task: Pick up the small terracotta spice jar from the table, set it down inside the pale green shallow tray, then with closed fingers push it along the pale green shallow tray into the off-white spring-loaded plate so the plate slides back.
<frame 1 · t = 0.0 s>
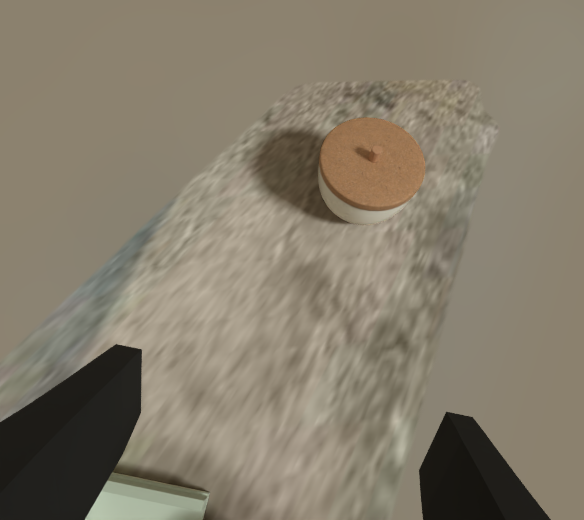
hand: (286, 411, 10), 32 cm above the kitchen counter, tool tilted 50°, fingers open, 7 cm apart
lidded jar: (356, 199, 50), on the kitchen counter
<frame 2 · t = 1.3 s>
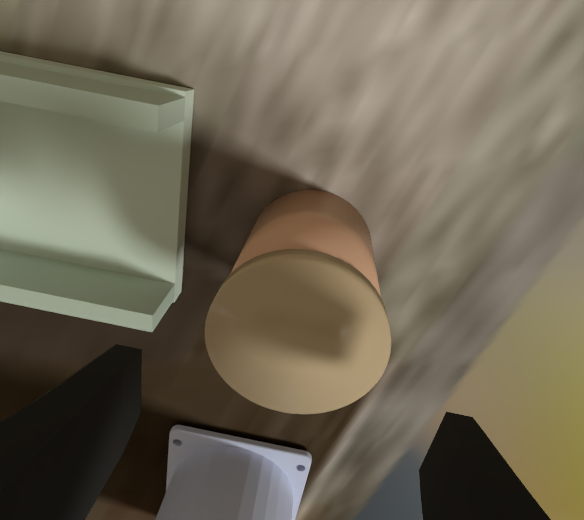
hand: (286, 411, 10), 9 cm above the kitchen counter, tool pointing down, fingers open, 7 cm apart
jar: (310, 248, 18), on the kitchen counter
pale green shallow tray: (2, 165, 18), on the kitchen counter
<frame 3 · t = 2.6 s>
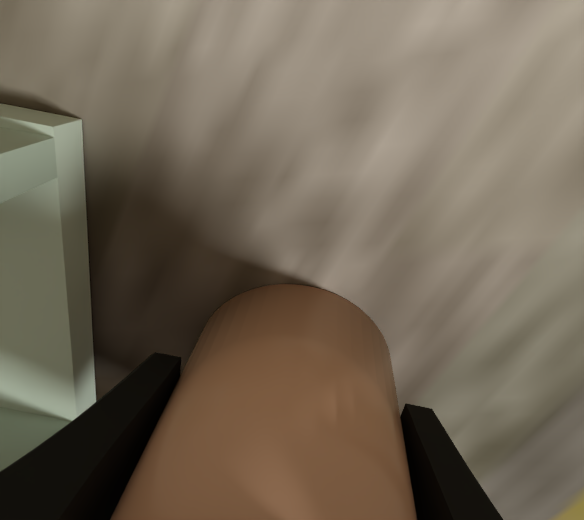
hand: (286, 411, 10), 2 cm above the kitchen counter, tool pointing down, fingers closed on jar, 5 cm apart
jar: (292, 368, 11), on the kitchen counter, touching gripper
when the fingers open (4 cm above the kitchen counter, at t = 5.4 s): jar stays where it is, resting on pale green shallow tray.
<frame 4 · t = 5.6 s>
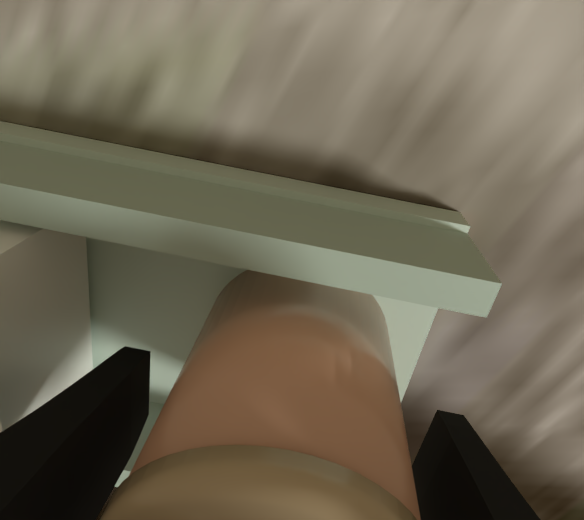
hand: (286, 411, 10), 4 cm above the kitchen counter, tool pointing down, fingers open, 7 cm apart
jar: (296, 339, 12), point 1 cm above the kitchen counter, touching pale green shallow tray
pale green shallow tray: (158, 295, 13), on the kitchen counter
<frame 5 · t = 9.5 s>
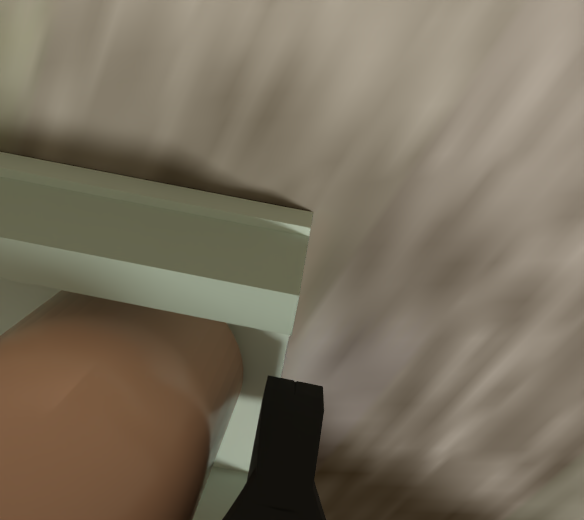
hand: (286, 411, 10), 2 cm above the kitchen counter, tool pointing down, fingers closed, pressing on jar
jar: (144, 359, 11), point 1 cm above the kitchen counter, touching gripper, pale green shallow tray
pale green shallow tray: (5, 306, 12), on the kitchen counter
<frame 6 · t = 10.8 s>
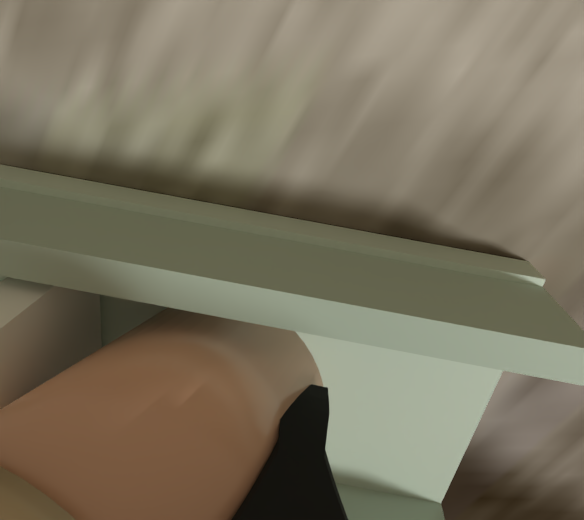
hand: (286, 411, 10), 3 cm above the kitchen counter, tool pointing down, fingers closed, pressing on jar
jar: (230, 384, 11), point 2 cm above the kitchen counter, tilted 17°, touching gripper, pale green shallow tray
pale green shallow tray: (206, 345, 13), on the kitchen counter
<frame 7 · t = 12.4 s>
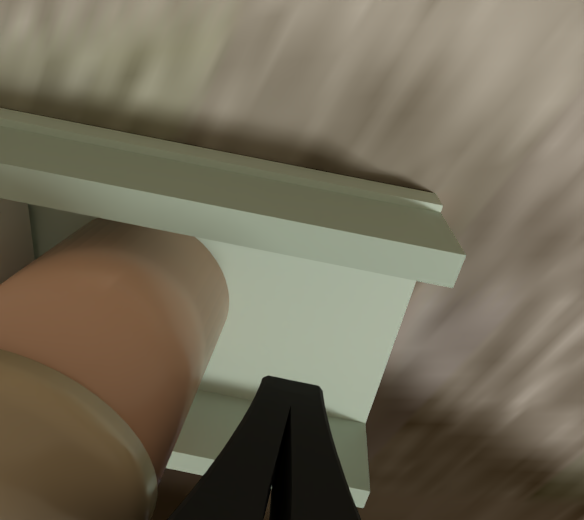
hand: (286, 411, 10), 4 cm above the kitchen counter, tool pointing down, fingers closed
jar: (145, 292, 13), point 1 cm above the kitchen counter, touching pale green shallow tray
pale green shallow tray: (149, 275, 14), on the kitchen counter
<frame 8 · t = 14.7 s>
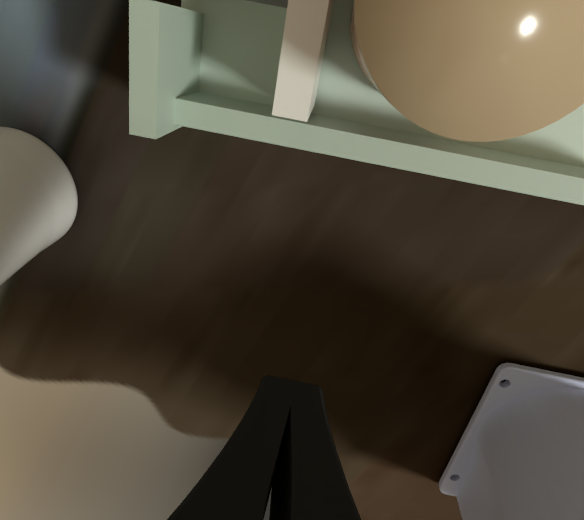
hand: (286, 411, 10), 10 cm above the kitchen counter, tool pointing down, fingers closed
jar: (430, 20, 14), point 1 cm above the kitchen counter, touching pale green shallow tray
pale green shallow tray: (416, 22, 15), on the kitchen counter
drinking glass: (29, 184, 19), on the kitchen counter
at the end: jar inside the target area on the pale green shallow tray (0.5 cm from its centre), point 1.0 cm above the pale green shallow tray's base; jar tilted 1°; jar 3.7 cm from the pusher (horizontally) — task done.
